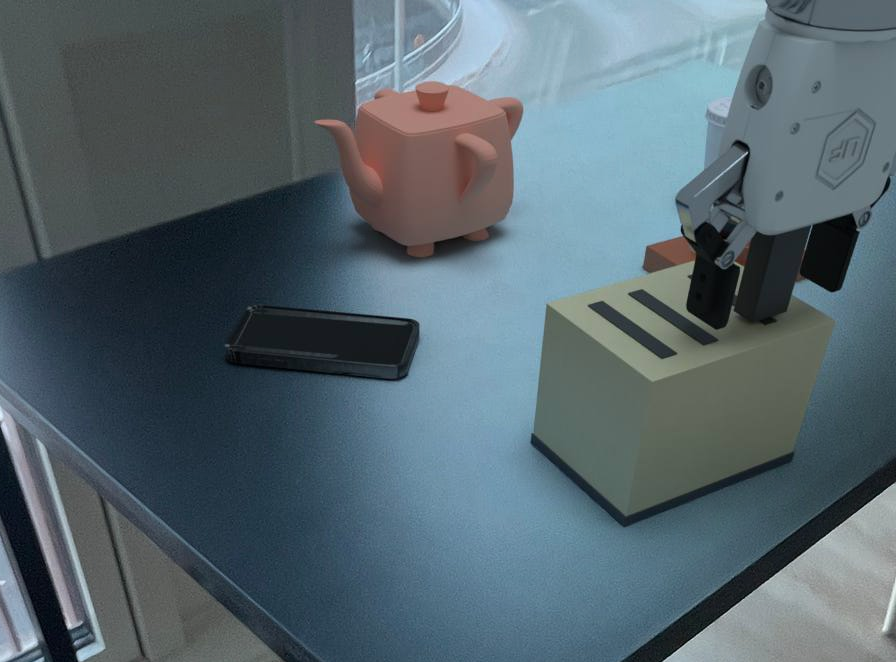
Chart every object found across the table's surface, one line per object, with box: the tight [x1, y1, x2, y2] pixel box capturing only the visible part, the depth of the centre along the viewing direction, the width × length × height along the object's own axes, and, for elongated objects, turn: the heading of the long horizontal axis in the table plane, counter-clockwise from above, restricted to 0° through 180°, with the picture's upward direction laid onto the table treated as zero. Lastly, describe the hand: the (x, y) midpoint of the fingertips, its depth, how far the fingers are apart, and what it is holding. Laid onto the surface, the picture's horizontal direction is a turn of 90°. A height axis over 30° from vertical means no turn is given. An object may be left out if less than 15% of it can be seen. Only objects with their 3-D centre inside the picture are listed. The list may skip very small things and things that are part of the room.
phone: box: [224, 304, 421, 380], centre depth 83 cm, size 8×1×15 cm
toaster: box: [530, 261, 837, 527], centre depth 69 cm, size 15×11×11 cm
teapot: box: [314, 80, 524, 258], centre depth 94 cm, size 17×16×13 cm
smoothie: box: [703, 96, 733, 212], centre depth 97 cm, size 6×6×14 cm
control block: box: [642, 235, 807, 283], centre depth 91 cm, size 12×9×4 cm
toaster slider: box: [734, 225, 812, 323], centre depth 63 cm, size 3×2×6 cm, turn 119°
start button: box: [719, 218, 738, 240], centre depth 90 cm, size 4×4×2 cm
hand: (763, 300), depth 64 cm, fingers open, 9 cm apart
